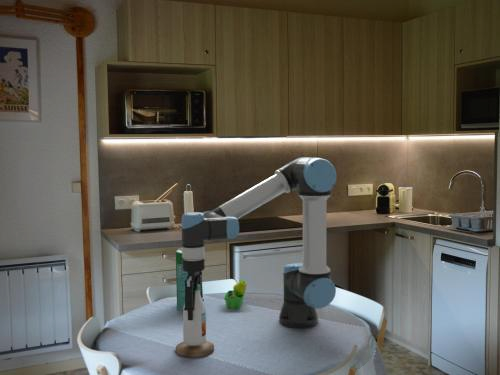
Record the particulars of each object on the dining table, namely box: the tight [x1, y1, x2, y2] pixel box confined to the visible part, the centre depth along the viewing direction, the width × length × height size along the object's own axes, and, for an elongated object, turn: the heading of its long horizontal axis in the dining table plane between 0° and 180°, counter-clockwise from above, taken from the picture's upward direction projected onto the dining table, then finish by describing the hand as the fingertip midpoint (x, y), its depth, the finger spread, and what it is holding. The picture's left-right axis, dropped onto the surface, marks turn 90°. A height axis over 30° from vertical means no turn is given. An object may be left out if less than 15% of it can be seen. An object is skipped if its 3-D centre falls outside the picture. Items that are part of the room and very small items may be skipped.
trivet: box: [175, 340, 215, 359], centre depth 185 cm, size 13×13×1 cm
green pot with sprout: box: [223, 279, 247, 310], centre depth 233 cm, size 11×9×11 cm
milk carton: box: [175, 247, 188, 311], centre depth 232 cm, size 9×9×25 cm
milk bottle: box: [182, 284, 207, 346], centre depth 184 cm, size 8×8×20 cm
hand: (194, 324), depth 184 cm, fingers closed on milk bottle, 7 cm apart
